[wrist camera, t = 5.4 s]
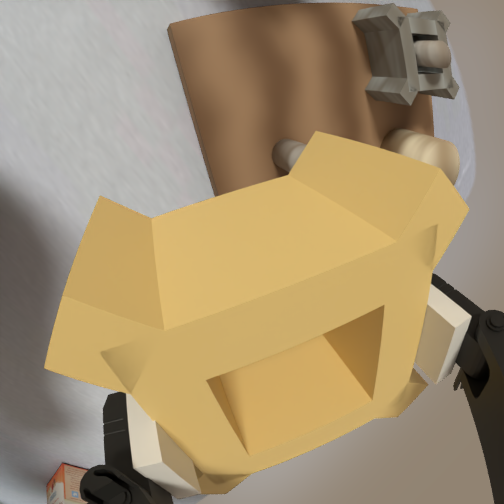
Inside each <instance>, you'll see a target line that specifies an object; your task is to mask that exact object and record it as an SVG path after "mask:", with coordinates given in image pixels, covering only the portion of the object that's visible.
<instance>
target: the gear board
mask: <svg viewBox="0 0 504 504" xmlns="http://www.w3.org/2000/svg"><path fill="white" fill-rule="evenodd" d="M449 25H450V22H449V20H448V19H447V18H446V16H445V15H444V14H443V12H442V11H428V12H418V9H414V8H406V7H398V6H396V5H395V4H394V3H391V4H385V5H377V4H361V3H300V4H284V5H273V6H263V7H254V8H247V9H240V10H233V11H227V12H221V13H216V14H210V15H205V16H201V17H196V18H191V19H187V20H183V21H179V22H175V23H171V24H170V25H169V27H168V29H167V31H168V35H169V39H170V42H171V46H172V50H173V53H174V57H175V60H176V64H177V68H178V71H179V75H180V78H181V82H182V85H183V89H184V92H185V96H186V99H187V103H188V106H189V110H190V113H191V117H192V120H193V124H194V127H195V131H196V134H197V137H198V141H199V144H200V148H201V151H202V154H203V158H204V161H205V165H206V168H207V171H208V175H209V178H210V181H211V185H212V188H213V191H214V195H215V197H217V196H220V195H223V194H226V193H229V192H232V191H236V190H239V189H242V188H246V187H249V186H252V185H255V184H259V183H262V182H266V181H269V180H272V179H276V178H279V177H283V176H286V175H288V174H289V173H290V171H291V169H292V168H293V166H294V165H295V163H296V161H297V160H298V158H299V157H300V155H301V153H302V152H303V150H304V149H305V147H306V146H307V144H308V142H309V141H310V139H311V138H312V136H313V134H314V133H315V131H318V132H323V133H327V134H331V135H335V136H339V137H342V138H346V139H350V140H354V141H357V142H361V143H364V144H368V145H371V146H375V147H378V148H381V149H385V150H388V151H391V152H394V153H397V154H401V155H404V156H407V157H410V158H413V159H416V160H418V161H421V162H424V163H427V164H430V165H433V166H435V167H438V168H441V170H442V171H443V172H444V174H445V175H446V176H447V178H448V179H449V180H450V182H451V183H452V185H453V186H454V184H455V182H456V180H457V177H458V173H459V165H460V161H459V154H458V151H457V148H456V147H455V145H454V144H453V143H451V142H449V141H446V140H442V139H439V138H436V137H434V125H433V110H432V98H431V96H438V97H443V98H449V99H455V96H456V94H457V92H458V89H459V86H458V84H457V83H456V81H455V80H454V78H453V77H452V72H451V64H450V63H451V53H450V49H449V47H448V43H447V37H446V32H447V29H448V27H449Z"/></svg>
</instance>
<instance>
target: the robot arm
mask: <svg viewBox="0 0 504 504" xmlns="http://www.w3.org/2000/svg"><path fill="white" fill-rule="evenodd" d="M414 362H415V363H416V364H417V365H418V366H419V367H420V368H421V369H422V370H423V371H424V372H425V374H426V375H427V376H428V377H429V378H430V379H431V380H432V381H433V382H434V383H435V384H437V383H439V382H440V381H441V380H442V379H444V378H445V377H447V376H448V375H449V374H451V372H452V370H453V367H454V365H455V362H456V363H457V364H458V365H459V366H460V367H461V368H460V370H459V372H458V375H457V377H456V379H455V382H454V385H453V386H454V390H457V388H458V386H459V384H460V382H461V387H460V388H461V389H462V388H463V389H464V391H465V394H466V397H467V400H468V402H469V406H470V409H471V412H472V415H473V418H474V422H475V425H476V428H477V432H478V435H479V439H480V442H481V446H482V450H483V453H484V457H485V461H486V465H487V469H488V474H489V478H490V483H491V488H492V493H493V498H494V503H495V504H504V313H503V312H501V311H497V310H488V311H486V312H485V311H483V310H482V309H480V308H479V307H478V306H477V305H475V304H474V303H473V302H472V301H470V300H469V299H468V298H466V297H465V296H464V295H463V294H461V293H460V292H459V291H457V290H454V288H453V287H452V286H451V285H449V284H447V283H446V282H445V281H444V280H443V279H441V278H440V277H439V276H437V275H436V274H433V273H432V279H431V285H430V291H429V297H428V303H427V308H426V313H425V318H424V323H423V328H422V332H421V337H420V341H419V345H418V350H417V354H416V358H415V361H414ZM103 423H104V425H103V429H104V435H105V436H104V451H105V465H97V466H95V467H92V468H90V469H89V470H88V471H87V472H86V473H85V474H84V476H83V477H82V479H81V481H80V489H79V491H80V495H81V499H82V500H84V501H86V502H88V503H87V504H173V501H172V496H174V497H175V498H177V499H181V498H186V497H190V496H194V495H198V494H202V493H201V490H200V486H199V483H198V479H197V476H196V472H195V469H194V465H193V461H192V460H191V459H190V458H189V457H188V456H187V455H186V454H185V453H184V452H183V451H182V449H181V448H180V447H179V446H178V445H177V444H176V443H175V442H174V441H173V440H172V439H171V438H170V437H169V435H168V434H167V433H166V432H165V431H164V430H163V429H162V428H161V427H160V425H159V424H158V423H157V422H156V421H152V419H151V418H150V417H149V416H148V415H147V414H146V412H145V411H144V410H143V409H142V408H141V406H140V405H139V404H138V403H137V402H136V400H135V399H134V398H133V397H132V395H131V394H127V393H123V392H117V393H113V394H110V395H108V397H107V400H106V402H105V405H104V407H103ZM171 495H172V496H171Z"/></svg>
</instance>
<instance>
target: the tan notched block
mask: <svg viewBox="0 0 504 504" xmlns="http://www.w3.org/2000/svg"><path fill="white" fill-rule="evenodd" d="M468 211H469V208H468V206H467V205H466V203H465V202H464V200H463V199H462V197H461V196H460V194H459V193H458V192H457V190H456V189H455V187H454V186H453V185H452V183H451V182H450V180H449V179H448V178H447V176H446V175H445V174H444V172H443V171H442V170H441V168H438V167H435V166H433V165H430V164H427V163H424V162H421V161H418V160H416V159H413V158H410V157H407V156H404V155H401V154H397V153H394V152H391V151H388V150H385V149H381V148H378V147H375V146H371V145H368V144H364V143H361V142H357V141H354V140H350V139H346V138H342V137H339V136H335V135H331V134H327V133H323V132H318V131H315V133H314V134H313V136H312V138H311V139H310V141H309V142H308V144H307V146H306V147H305V149H304V150H303V152H302V153H301V155H300V157H299V158H298V160H297V161H296V163H295V165H294V166H293V168H292V169H291V171H290V173H289V174H288V175H286V176H283V177H279V178H276V179H272V180H269V181H266V182H262V183H259V184H255V185H252V186H249V187H246V188H242V189H239V190H236V191H232V192H229V193H226V194H223V195H220V196H217V197H213V198H210V199H207V200H204V201H201V202H198V203H195V204H192V205H189V206H186V207H183V208H180V209H177V210H174V211H171V212H168V213H165V214H163V215H160V216H157V217H154V218H149V217H147V216H145V215H142V214H140V213H138V212H136V211H134V210H131V209H129V208H127V207H125V206H122V205H120V204H118V203H116V202H113V201H111V200H109V199H107V198H105V197H102V196H100V197H99V199H98V201H97V204H96V206H95V208H94V211H93V213H92V215H91V218H90V220H89V223H88V225H87V227H86V230H85V232H84V235H83V238H82V240H81V243H80V245H79V248H78V251H77V254H76V256H75V259H74V262H73V265H72V268H71V271H70V273H69V276H68V279H67V282H66V286H65V289H64V292H63V295H62V298H61V302H60V305H59V309H58V312H57V316H56V320H55V323H54V327H53V331H52V335H51V339H50V343H49V348H48V352H47V356H46V361H45V366H44V369H47V370H50V371H53V372H56V373H58V374H61V375H64V376H67V377H71V378H74V379H77V380H80V381H83V382H87V383H90V384H93V385H97V386H100V387H104V388H108V389H111V390H115V391H119V392H123V393H127V394H131V395H132V397H133V398H134V399H135V400H136V402H137V403H138V404H139V405H140V406H141V408H142V409H143V410H144V411H145V412H146V414H147V415H148V416H149V417H150V418H151V419H152V421H156V422H157V423H158V424H159V425H160V427H161V428H162V429H163V430H164V431H165V432H166V433H167V434H168V435H169V437H170V438H171V439H172V440H173V441H174V442H175V443H176V444H177V445H178V446H179V447H180V448H181V449H182V451H183V452H184V453H185V454H186V455H187V456H188V457H189V458H190V459H191V460H192V461H193V465H194V469H195V472H196V476H197V479H198V483H199V486H200V490H201V493H202V494H226V493H228V492H229V491H230V490H232V489H233V488H234V487H235V486H237V485H238V484H239V483H241V482H242V481H243V480H244V479H246V478H247V477H248V476H249V475H251V474H252V473H255V472H258V471H261V470H264V469H267V468H269V467H272V466H274V465H277V464H280V463H282V462H284V461H287V460H290V459H292V458H295V457H297V456H299V455H301V454H304V453H306V452H309V451H311V450H313V449H315V448H317V447H320V446H322V445H324V444H326V443H328V442H330V441H332V440H334V439H336V438H338V437H340V436H342V435H344V434H346V433H348V432H350V431H352V430H354V429H356V428H358V427H360V426H362V425H363V424H365V423H367V422H369V421H371V420H372V419H374V418H391V417H398V416H399V415H400V414H401V413H402V412H403V411H404V410H405V409H406V408H407V407H408V406H409V405H410V404H411V403H412V402H413V400H415V399H416V398H417V397H418V395H419V394H420V393H421V392H422V391H423V390H424V389H425V388H426V386H428V384H427V383H426V382H425V380H424V379H423V378H422V377H421V376H420V375H419V374H418V373H417V372H416V370H415V369H414V368H413V365H414V361H415V358H416V354H417V350H418V345H419V341H420V337H421V332H422V328H423V323H424V318H425V313H426V308H427V303H428V297H429V291H430V285H431V279H432V272H433V270H434V268H435V267H436V265H437V263H438V262H439V260H440V259H441V257H442V255H443V254H444V252H445V251H446V249H447V247H448V246H449V244H450V242H451V241H452V239H453V237H454V236H455V234H456V232H457V230H458V229H459V227H460V225H461V224H462V222H463V220H464V218H465V216H466V214H467V213H468Z"/></svg>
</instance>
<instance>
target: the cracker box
mask: <svg viewBox="0 0 504 504" xmlns="http://www.w3.org/2000/svg"><path fill="white" fill-rule="evenodd" d="M87 471H88V470H86V469H82V468H78V467H74V466H71V465H67V464H64V463H62V464H61V466H60V467H59V469H58V470H57V472H56V473H55V474H54V476H53V477H52V479H51V480H50V481H49V483H48V484H47V504H87V503H88V502H86V501H84V500H82V499H81V495H80V491H79V489H80V481H81V479H82V477H83V476H84V474H85V473H86V472H87Z"/></svg>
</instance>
